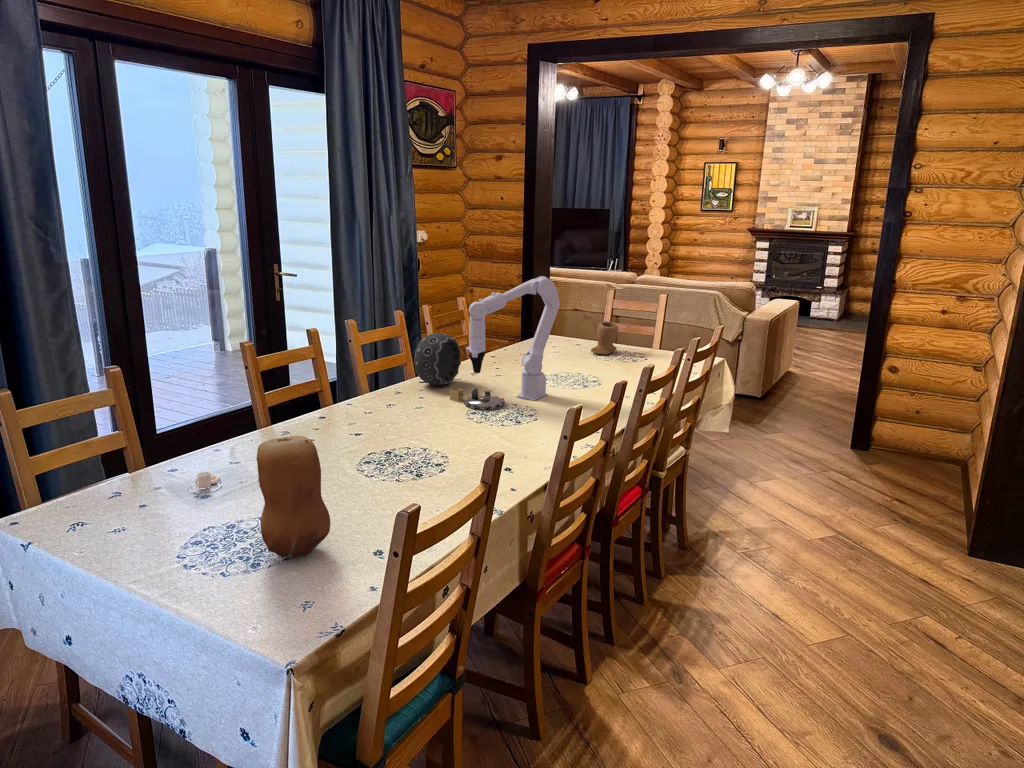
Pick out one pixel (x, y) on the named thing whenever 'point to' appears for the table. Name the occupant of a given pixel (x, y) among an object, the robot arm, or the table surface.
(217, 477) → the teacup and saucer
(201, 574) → the table surface
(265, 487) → the butternut squash
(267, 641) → the table surface
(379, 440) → the table surface
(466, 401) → the sprocket
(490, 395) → the block
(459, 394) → the link block
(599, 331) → the stone cup
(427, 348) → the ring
